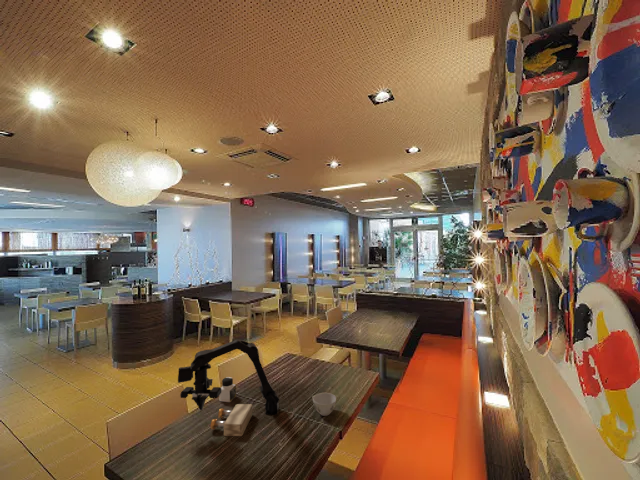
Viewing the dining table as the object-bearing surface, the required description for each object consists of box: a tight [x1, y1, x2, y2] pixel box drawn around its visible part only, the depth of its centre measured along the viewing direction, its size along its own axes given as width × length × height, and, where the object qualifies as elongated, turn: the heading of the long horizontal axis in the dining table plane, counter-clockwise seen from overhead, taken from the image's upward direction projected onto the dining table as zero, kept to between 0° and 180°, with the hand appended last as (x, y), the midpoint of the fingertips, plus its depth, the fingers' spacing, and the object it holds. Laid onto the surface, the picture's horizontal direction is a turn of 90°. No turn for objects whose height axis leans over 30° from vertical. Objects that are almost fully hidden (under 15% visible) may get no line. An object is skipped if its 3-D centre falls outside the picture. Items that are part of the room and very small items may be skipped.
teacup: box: [311, 392, 337, 417], centre depth 153 cm, size 15×12×8 cm
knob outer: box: [209, 418, 226, 431], centre depth 140 cm, size 10×4×4 cm, turn 87°
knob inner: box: [217, 407, 233, 419], centre depth 149 cm, size 10×4×4 cm, turn 87°
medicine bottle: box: [218, 376, 237, 403], centre depth 169 cm, size 7×7×12 cm
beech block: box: [223, 403, 253, 437], centre depth 144 cm, size 9×17×6 cm, turn 177°
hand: (201, 409), depth 141 cm, fingers closed
